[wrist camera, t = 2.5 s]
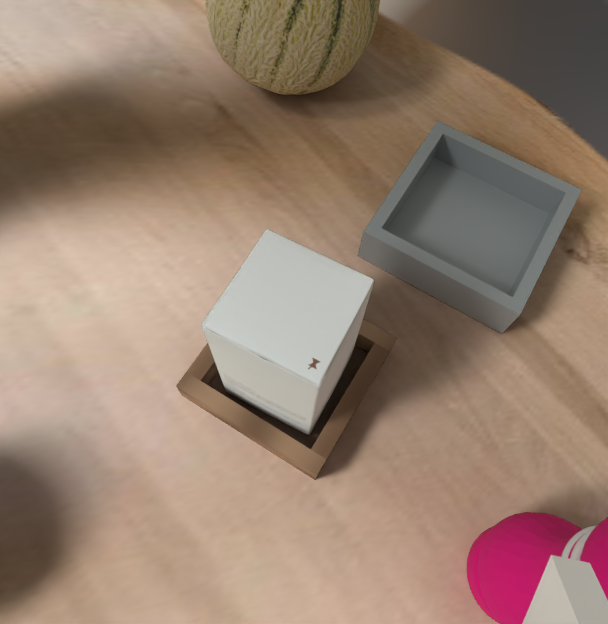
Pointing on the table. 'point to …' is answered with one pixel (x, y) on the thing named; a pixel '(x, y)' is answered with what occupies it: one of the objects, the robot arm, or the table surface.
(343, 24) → the cantaloupe
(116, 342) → the table surface
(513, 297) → the slate tray
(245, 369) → the supplement box
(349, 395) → the walnut collar
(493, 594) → the pepper mill
